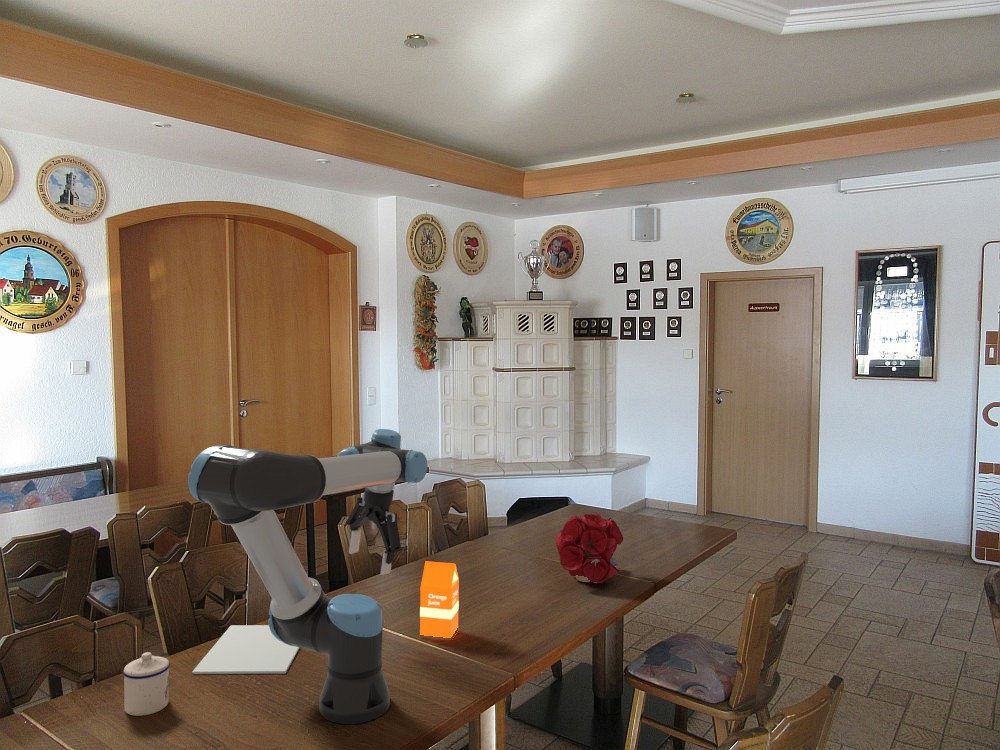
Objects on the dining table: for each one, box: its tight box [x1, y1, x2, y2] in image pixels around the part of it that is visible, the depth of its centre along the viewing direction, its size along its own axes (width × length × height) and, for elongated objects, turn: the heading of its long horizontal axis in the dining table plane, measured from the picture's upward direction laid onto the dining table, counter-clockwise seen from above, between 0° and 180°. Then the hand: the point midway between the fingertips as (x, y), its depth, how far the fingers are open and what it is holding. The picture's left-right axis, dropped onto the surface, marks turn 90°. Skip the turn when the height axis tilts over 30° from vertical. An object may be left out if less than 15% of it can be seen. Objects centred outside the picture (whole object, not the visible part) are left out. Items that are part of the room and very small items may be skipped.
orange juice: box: [419, 560, 460, 638], centre depth 195 cm, size 8×9×20 cm
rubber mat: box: [191, 624, 301, 675], centre depth 185 cm, size 28×22×1 cm
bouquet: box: [555, 513, 624, 584], centre depth 244 cm, size 22×24×30 cm
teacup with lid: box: [122, 651, 171, 717], centre depth 156 cm, size 12×9×12 cm
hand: (369, 562), depth 190 cm, fingers open, 13 cm apart
